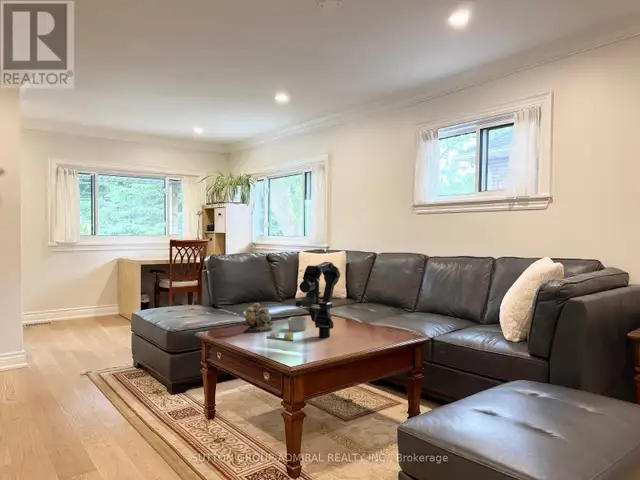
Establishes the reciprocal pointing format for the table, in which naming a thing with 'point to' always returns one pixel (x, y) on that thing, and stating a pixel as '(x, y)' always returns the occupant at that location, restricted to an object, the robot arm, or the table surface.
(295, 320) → the grey rounded container
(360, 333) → the table surface
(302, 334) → the table surface
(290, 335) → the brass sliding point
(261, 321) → the owl figurine
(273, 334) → the block
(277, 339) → the plate
